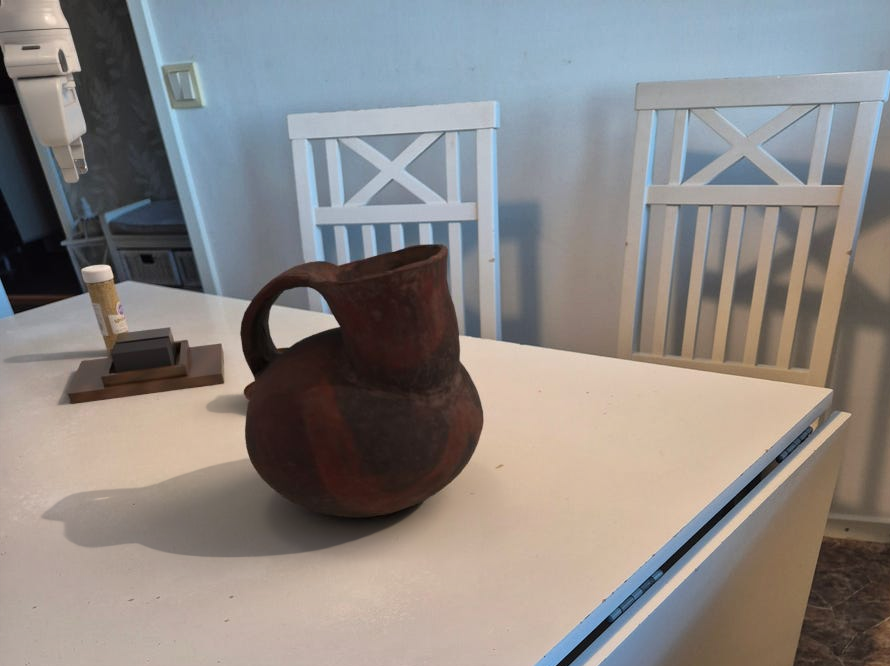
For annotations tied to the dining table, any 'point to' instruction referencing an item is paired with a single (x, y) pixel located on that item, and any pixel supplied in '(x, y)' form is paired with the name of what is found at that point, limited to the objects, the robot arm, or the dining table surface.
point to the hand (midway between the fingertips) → (77, 177)
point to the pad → (142, 355)
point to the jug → (363, 388)
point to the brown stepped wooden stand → (148, 370)
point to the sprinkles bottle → (105, 302)
